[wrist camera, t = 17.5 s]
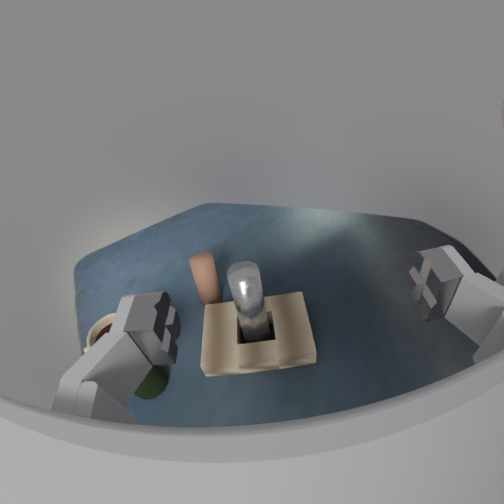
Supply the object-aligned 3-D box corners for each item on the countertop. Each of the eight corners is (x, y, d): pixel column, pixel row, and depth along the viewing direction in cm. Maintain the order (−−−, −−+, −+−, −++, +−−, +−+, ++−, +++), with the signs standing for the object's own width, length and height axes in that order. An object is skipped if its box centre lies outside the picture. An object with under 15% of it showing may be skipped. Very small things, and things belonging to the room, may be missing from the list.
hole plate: (302, 303, 47) (301, 291, 45) (316, 363, 37) (316, 352, 36) (209, 316, 48) (205, 304, 46) (206, 376, 38) (200, 366, 36)
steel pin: (269, 327, 44) (257, 258, 36) (272, 347, 41) (260, 280, 33) (244, 330, 44) (226, 263, 36) (245, 350, 41) (226, 284, 33)
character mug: (180, 357, 41) (147, 302, 34) (186, 396, 36) (148, 346, 28) (120, 371, 40) (78, 320, 32) (121, 408, 34) (71, 362, 26)
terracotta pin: (212, 289, 53) (203, 249, 48) (226, 298, 51) (217, 257, 46) (196, 300, 51) (184, 259, 46) (209, 309, 48) (198, 268, 44)
